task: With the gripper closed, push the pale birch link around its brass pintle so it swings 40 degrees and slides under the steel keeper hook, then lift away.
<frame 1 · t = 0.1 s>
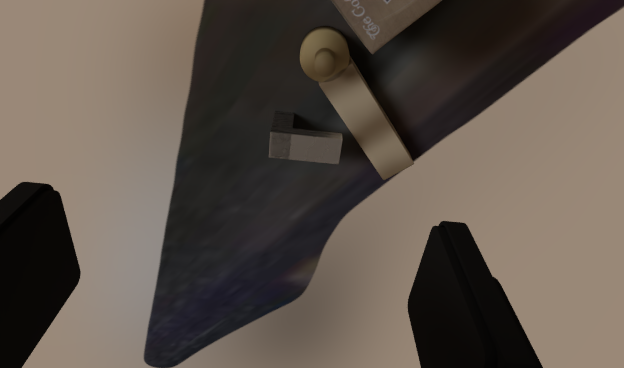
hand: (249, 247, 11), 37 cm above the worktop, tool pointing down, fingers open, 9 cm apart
pivot link: (358, 110, 44), point 3 cm above the worktop, hinge at 40.0°
keeper hook: (283, 123, 49), on the worktop
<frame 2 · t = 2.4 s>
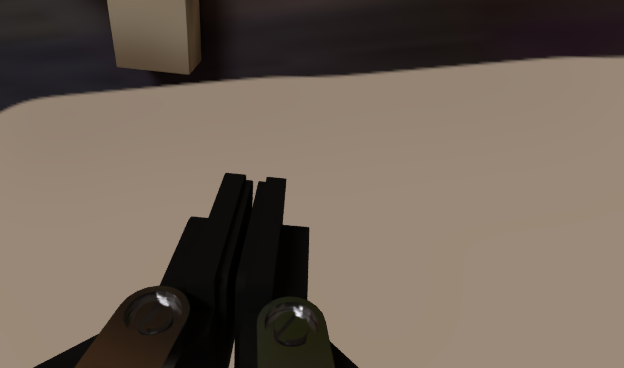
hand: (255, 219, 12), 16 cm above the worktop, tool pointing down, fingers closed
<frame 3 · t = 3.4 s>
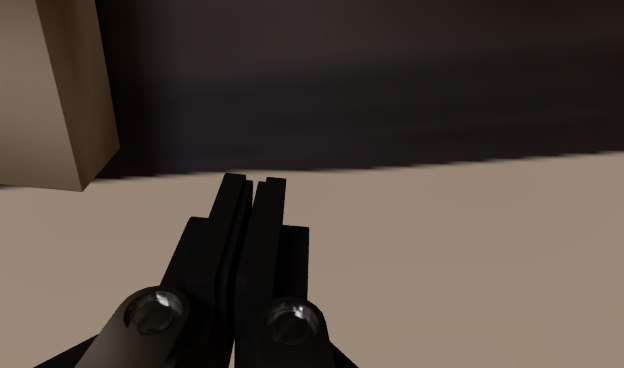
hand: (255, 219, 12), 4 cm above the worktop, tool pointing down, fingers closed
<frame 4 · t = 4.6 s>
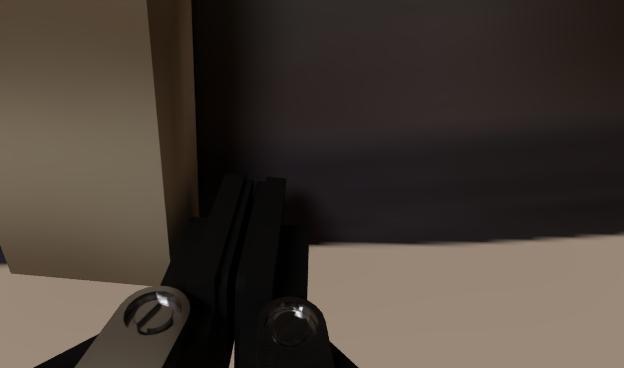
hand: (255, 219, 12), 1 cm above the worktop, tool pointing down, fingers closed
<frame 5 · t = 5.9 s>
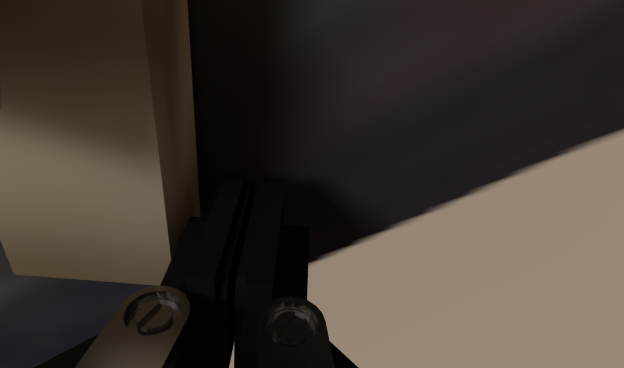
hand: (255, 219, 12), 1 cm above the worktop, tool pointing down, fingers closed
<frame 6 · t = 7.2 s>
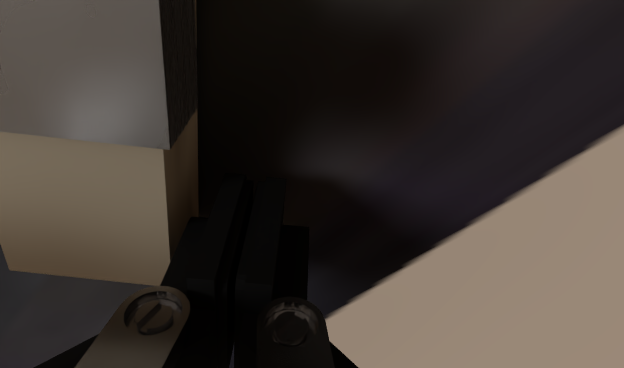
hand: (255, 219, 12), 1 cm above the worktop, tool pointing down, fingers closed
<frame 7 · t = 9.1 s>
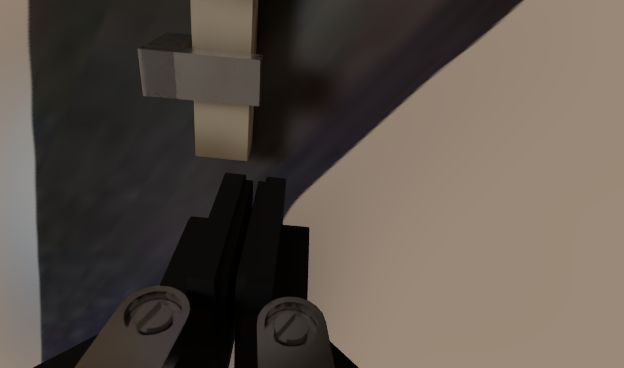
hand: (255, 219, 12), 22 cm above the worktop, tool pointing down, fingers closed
pivot link: (221, 35, 27), point 3 cm above the worktop, hinge at -1.3°
keeper hook: (183, 54, 31), on the worktop
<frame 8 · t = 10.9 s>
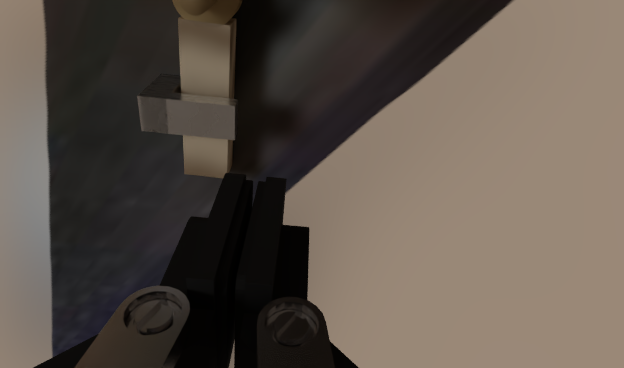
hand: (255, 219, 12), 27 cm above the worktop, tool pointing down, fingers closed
pivot link: (204, 82, 34), point 3 cm above the worktop, hinge at -1.3°
keeper hook: (174, 91, 38), on the worktop
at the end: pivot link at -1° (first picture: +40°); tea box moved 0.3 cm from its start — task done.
